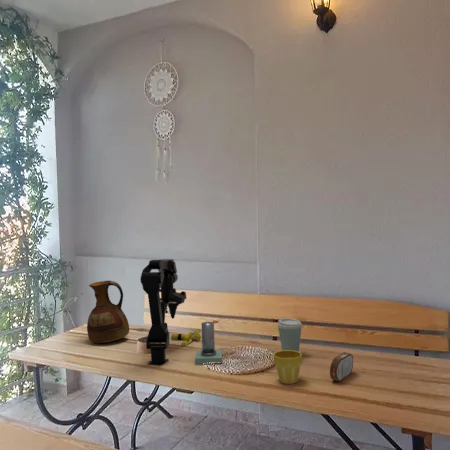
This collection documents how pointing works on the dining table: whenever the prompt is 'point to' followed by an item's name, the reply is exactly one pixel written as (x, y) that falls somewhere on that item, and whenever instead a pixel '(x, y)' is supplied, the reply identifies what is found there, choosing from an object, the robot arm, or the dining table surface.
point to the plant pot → (288, 365)
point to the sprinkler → (187, 337)
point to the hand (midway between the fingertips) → (168, 320)
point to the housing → (208, 339)
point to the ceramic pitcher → (106, 315)
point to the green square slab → (207, 357)
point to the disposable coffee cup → (290, 333)
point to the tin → (341, 366)
